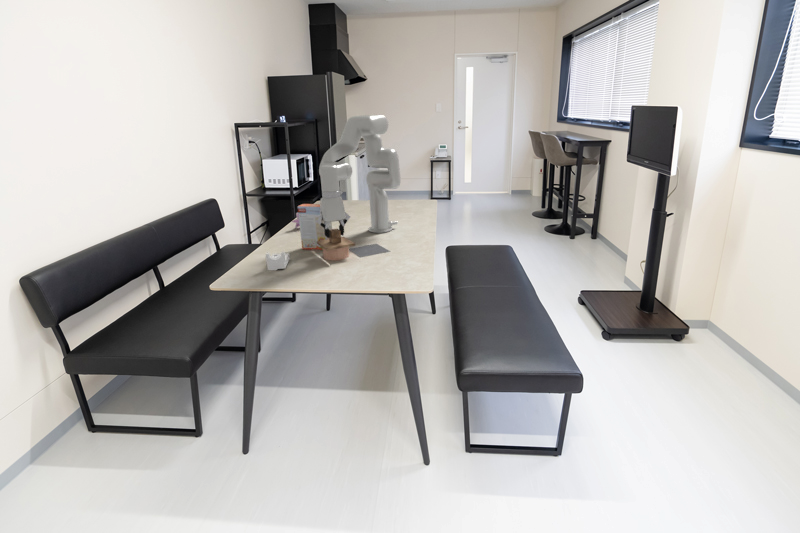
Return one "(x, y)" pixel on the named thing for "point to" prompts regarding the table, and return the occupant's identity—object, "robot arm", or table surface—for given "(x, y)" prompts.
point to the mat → (368, 250)
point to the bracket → (277, 260)
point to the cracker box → (311, 226)
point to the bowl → (336, 254)
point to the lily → (296, 221)
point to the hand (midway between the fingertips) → (334, 235)
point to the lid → (335, 241)
